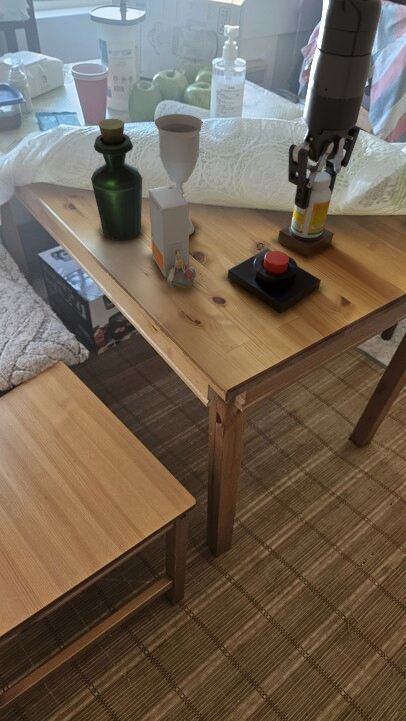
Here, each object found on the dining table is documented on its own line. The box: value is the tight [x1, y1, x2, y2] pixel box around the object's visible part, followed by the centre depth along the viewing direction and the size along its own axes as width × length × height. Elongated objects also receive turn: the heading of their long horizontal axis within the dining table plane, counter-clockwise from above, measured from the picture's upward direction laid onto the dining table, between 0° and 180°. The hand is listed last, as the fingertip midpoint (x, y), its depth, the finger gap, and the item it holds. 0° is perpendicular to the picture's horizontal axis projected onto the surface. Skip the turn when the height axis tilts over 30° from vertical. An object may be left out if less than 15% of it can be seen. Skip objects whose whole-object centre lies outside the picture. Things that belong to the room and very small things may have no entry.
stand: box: [277, 224, 335, 259], centre depth 86 cm, size 6×6×2 cm
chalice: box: [154, 113, 204, 236], centre depth 82 cm, size 7×7×18 cm
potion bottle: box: [90, 118, 143, 241], centre depth 81 cm, size 8×8×18 cm
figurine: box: [166, 250, 197, 289], centre depth 76 cm, size 5×4×6 cm
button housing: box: [227, 247, 322, 314], centre depth 77 cm, size 11×9×4 cm
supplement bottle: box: [290, 170, 333, 238], centre depth 81 cm, size 5×5×10 cm
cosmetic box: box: [148, 184, 190, 278], centre depth 77 cm, size 6×4×12 cm
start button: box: [264, 250, 290, 274], centre depth 76 cm, size 4×4×2 cm
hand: (313, 200), depth 81 cm, fingers closed on supplement bottle, 5 cm apart
